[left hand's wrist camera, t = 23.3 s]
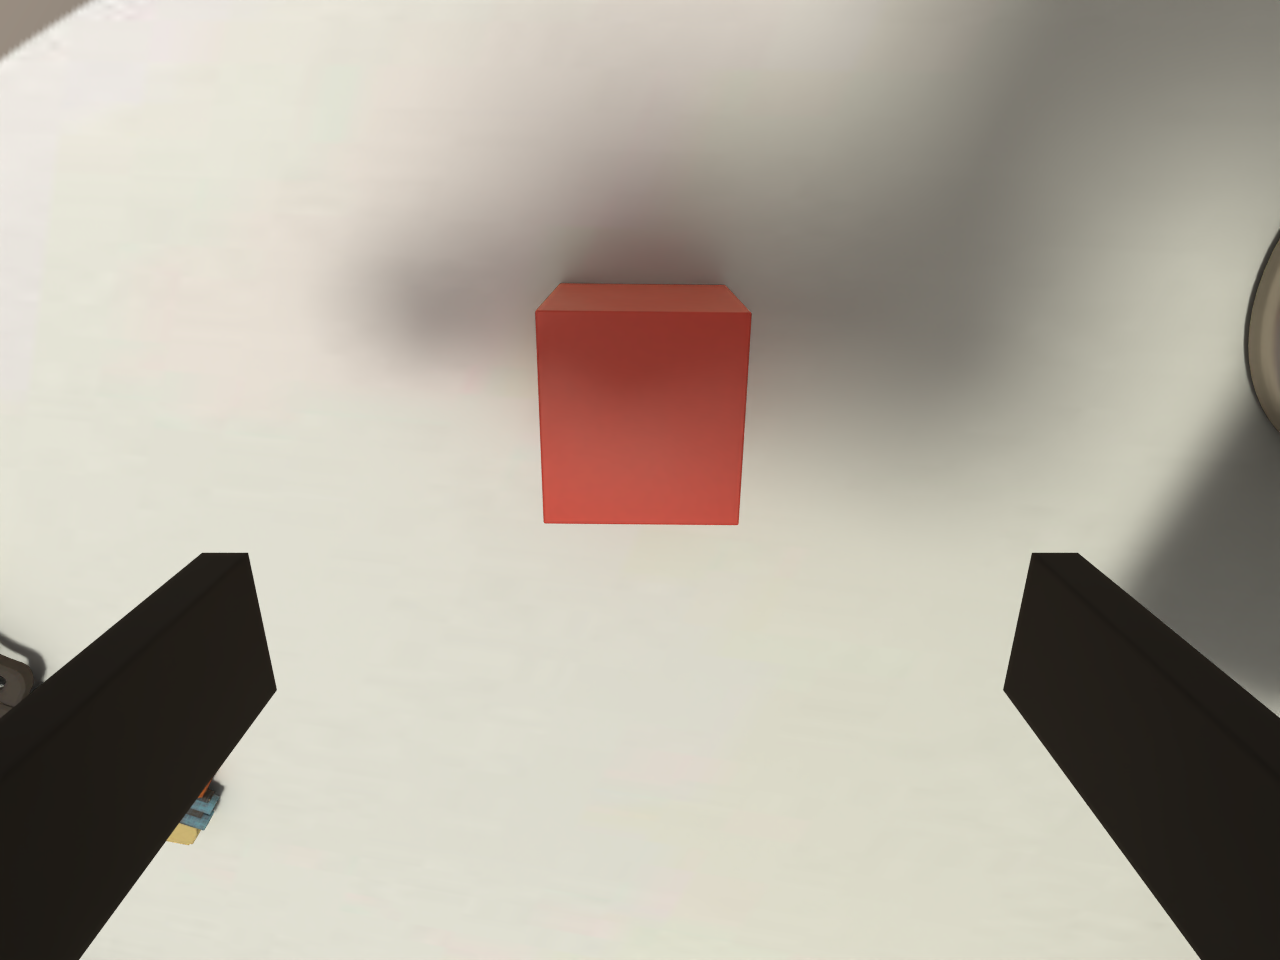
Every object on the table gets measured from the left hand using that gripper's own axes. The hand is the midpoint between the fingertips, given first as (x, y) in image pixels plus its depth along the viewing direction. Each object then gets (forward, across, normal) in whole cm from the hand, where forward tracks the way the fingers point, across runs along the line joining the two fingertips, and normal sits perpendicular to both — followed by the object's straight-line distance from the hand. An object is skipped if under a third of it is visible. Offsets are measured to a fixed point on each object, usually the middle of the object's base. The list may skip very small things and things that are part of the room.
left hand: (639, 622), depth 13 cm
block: (+20, 0, 0) cm, 20 cm away
